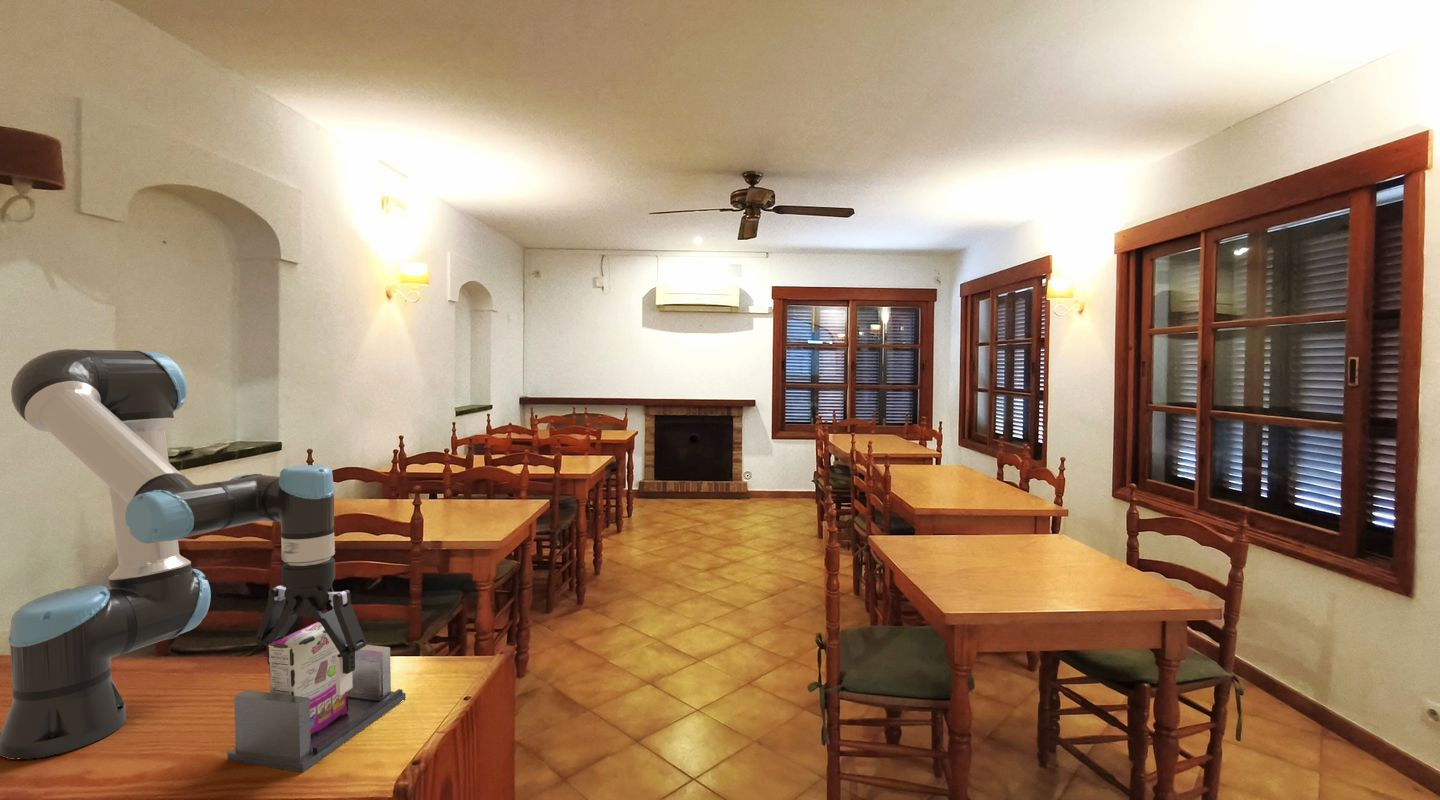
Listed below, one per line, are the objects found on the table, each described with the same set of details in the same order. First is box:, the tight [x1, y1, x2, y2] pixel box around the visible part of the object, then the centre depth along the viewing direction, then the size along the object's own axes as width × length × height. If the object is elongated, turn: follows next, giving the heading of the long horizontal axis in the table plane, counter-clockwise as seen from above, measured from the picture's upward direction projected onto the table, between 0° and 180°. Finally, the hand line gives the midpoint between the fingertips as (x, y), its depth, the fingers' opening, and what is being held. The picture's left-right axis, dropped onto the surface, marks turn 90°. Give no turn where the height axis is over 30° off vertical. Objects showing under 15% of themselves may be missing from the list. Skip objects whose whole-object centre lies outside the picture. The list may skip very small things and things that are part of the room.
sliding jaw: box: [346, 644, 392, 701], centre depth 124 cm, size 11×8×9 cm
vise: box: [226, 688, 406, 773], centre depth 113 cm, size 14×23×10 cm, turn 168°
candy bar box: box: [268, 621, 349, 737], centre depth 110 cm, size 11×5×16 cm, turn 167°
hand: (311, 687), depth 110 cm, fingers open, 12 cm apart
